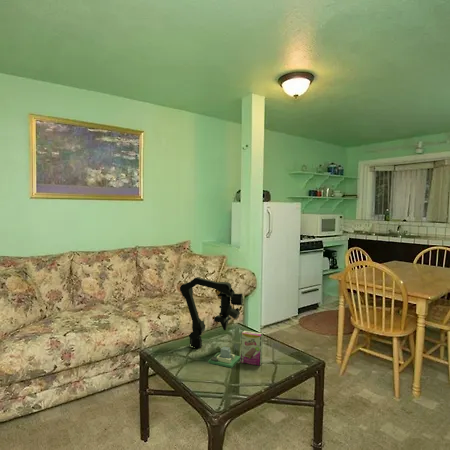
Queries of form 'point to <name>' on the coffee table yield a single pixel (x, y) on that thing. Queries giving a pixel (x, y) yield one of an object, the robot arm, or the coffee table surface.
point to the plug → (226, 352)
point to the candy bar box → (251, 347)
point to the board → (224, 360)
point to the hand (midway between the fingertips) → (224, 330)
